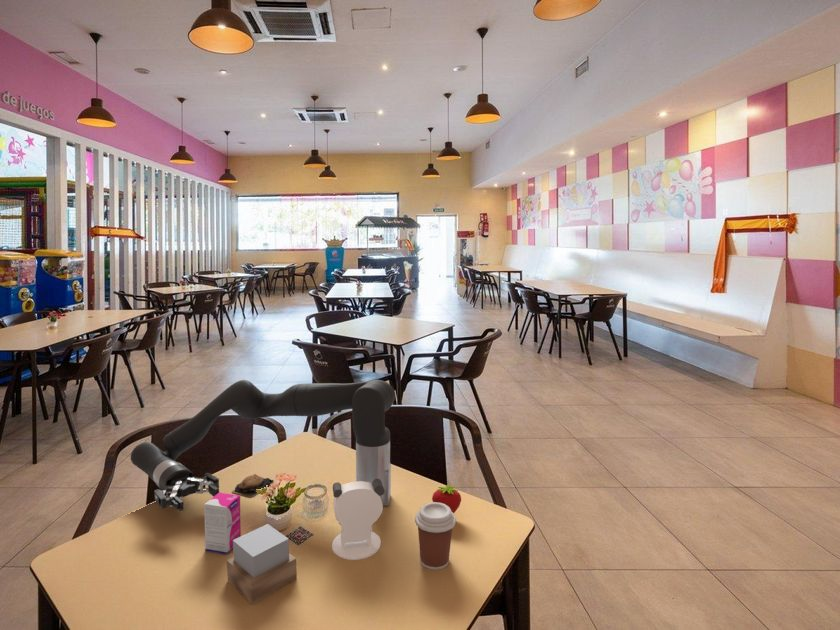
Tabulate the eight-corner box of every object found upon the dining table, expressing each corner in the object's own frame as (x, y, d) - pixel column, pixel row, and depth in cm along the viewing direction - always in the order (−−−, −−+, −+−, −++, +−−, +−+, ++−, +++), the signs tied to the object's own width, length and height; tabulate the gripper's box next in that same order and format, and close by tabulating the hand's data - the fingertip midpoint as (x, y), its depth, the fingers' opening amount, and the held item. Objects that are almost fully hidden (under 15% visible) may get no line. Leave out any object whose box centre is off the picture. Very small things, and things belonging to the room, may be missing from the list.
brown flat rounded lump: (252, 500, 132) (251, 488, 131) (228, 494, 135) (228, 482, 134) (277, 483, 141) (277, 471, 141) (255, 477, 145) (254, 466, 144)
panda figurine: (379, 527, 119) (379, 470, 117) (387, 555, 108) (387, 493, 106) (330, 533, 116) (329, 475, 114) (333, 563, 105) (332, 499, 103)
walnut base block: (227, 582, 99) (226, 560, 99) (270, 559, 107) (270, 538, 106) (252, 606, 93) (251, 582, 92) (296, 580, 100) (296, 558, 99)
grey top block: (233, 560, 99) (232, 540, 98) (268, 542, 104) (267, 523, 104) (253, 578, 93) (252, 556, 93) (289, 558, 99) (288, 538, 99)
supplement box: (227, 554, 107) (225, 507, 106) (204, 551, 109) (202, 504, 107) (242, 539, 113) (240, 494, 112) (220, 536, 114) (217, 491, 113)
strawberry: (431, 511, 126) (431, 476, 125) (459, 512, 126) (460, 476, 125) (432, 524, 120) (432, 487, 119) (461, 524, 120) (462, 487, 119)
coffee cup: (459, 552, 109) (460, 503, 108) (448, 578, 101) (449, 525, 99) (421, 544, 112) (422, 496, 111) (408, 568, 104) (408, 517, 102)
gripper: (143, 473, 122) (168, 496, 111) (199, 456, 133) (227, 475, 122) (145, 501, 123) (170, 526, 112) (200, 481, 134) (228, 503, 123)
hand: (200, 500), depth 117 cm, fingers open, 8 cm apart
